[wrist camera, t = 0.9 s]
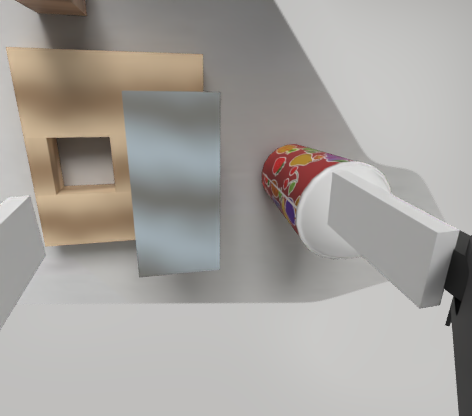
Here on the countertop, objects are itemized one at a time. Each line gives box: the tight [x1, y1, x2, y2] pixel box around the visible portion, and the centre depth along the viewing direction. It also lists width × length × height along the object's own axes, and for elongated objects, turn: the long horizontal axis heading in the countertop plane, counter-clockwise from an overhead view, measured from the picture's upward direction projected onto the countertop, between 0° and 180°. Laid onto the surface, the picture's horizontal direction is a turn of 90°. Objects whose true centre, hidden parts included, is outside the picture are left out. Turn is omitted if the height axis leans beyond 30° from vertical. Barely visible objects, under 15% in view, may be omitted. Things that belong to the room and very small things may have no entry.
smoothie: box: [262, 144, 392, 259], centre depth 30 cm, size 8×8×20 cm
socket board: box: [6, 47, 220, 277], centre depth 29 cm, size 18×16×12 cm
